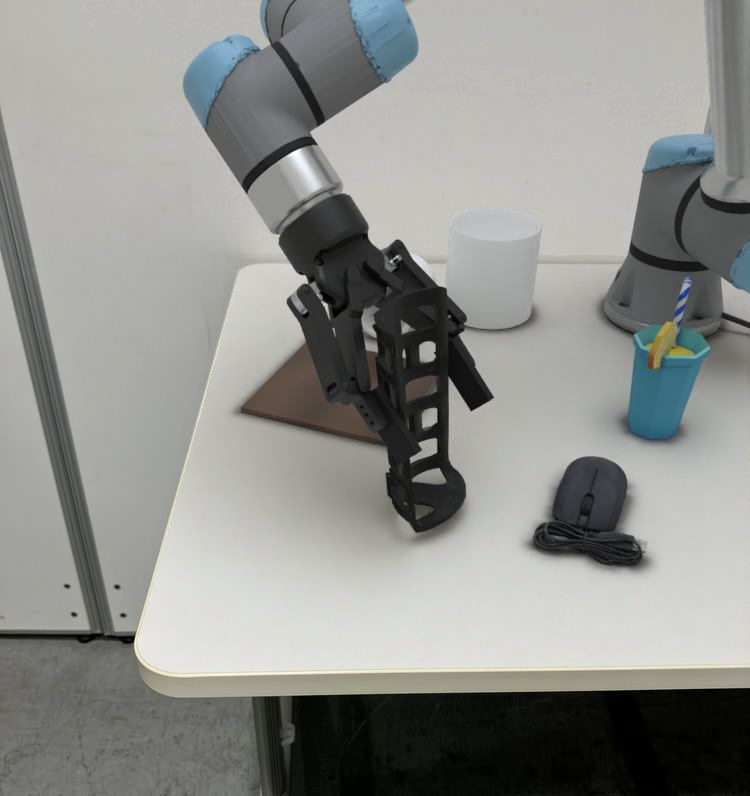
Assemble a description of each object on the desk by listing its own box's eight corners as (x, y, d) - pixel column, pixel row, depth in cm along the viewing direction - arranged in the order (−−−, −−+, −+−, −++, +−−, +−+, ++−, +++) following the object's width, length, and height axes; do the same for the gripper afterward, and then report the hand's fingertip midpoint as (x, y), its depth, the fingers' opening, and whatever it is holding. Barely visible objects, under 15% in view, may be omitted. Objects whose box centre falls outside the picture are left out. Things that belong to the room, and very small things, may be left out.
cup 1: (548, 318, 123) (560, 231, 115) (475, 337, 118) (483, 247, 111) (497, 285, 131) (506, 202, 123) (427, 302, 126) (432, 216, 119)
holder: (457, 539, 83) (448, 337, 72) (376, 534, 85) (354, 336, 73) (472, 470, 92) (466, 281, 80) (398, 467, 94) (381, 281, 82)
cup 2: (627, 386, 108) (653, 266, 99) (695, 400, 106) (727, 278, 97) (606, 447, 98) (632, 319, 89) (680, 464, 96) (715, 334, 87)
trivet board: (444, 370, 111) (445, 366, 111) (391, 447, 98) (391, 442, 97) (309, 342, 116) (309, 338, 116) (240, 411, 103) (240, 407, 102)
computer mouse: (647, 479, 94) (655, 448, 91) (642, 571, 82) (651, 538, 80) (548, 463, 96) (553, 432, 93) (530, 551, 84) (535, 518, 82)
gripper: (370, 203, 90) (491, 394, 92) (194, 277, 76) (341, 502, 77) (415, 158, 84) (544, 364, 86) (234, 230, 70) (392, 475, 72)
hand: (448, 429), depth 82 cm, fingers closed on holder, 10 cm apart
